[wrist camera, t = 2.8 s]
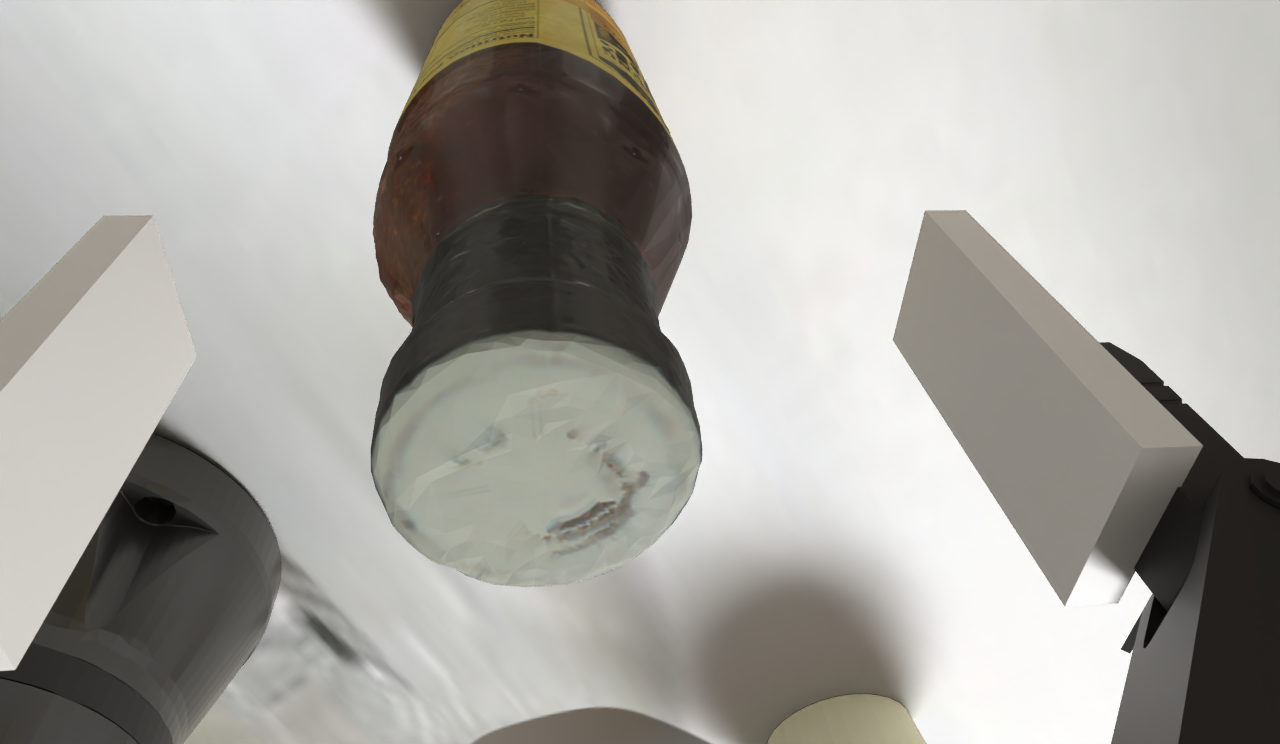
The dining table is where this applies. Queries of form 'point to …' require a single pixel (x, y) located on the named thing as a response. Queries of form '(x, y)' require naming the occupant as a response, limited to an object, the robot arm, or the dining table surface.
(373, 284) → the dining table surface
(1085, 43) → the dining table surface
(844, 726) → the reusable coffee cup
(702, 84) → the dining table surface
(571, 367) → the sauce bottle
